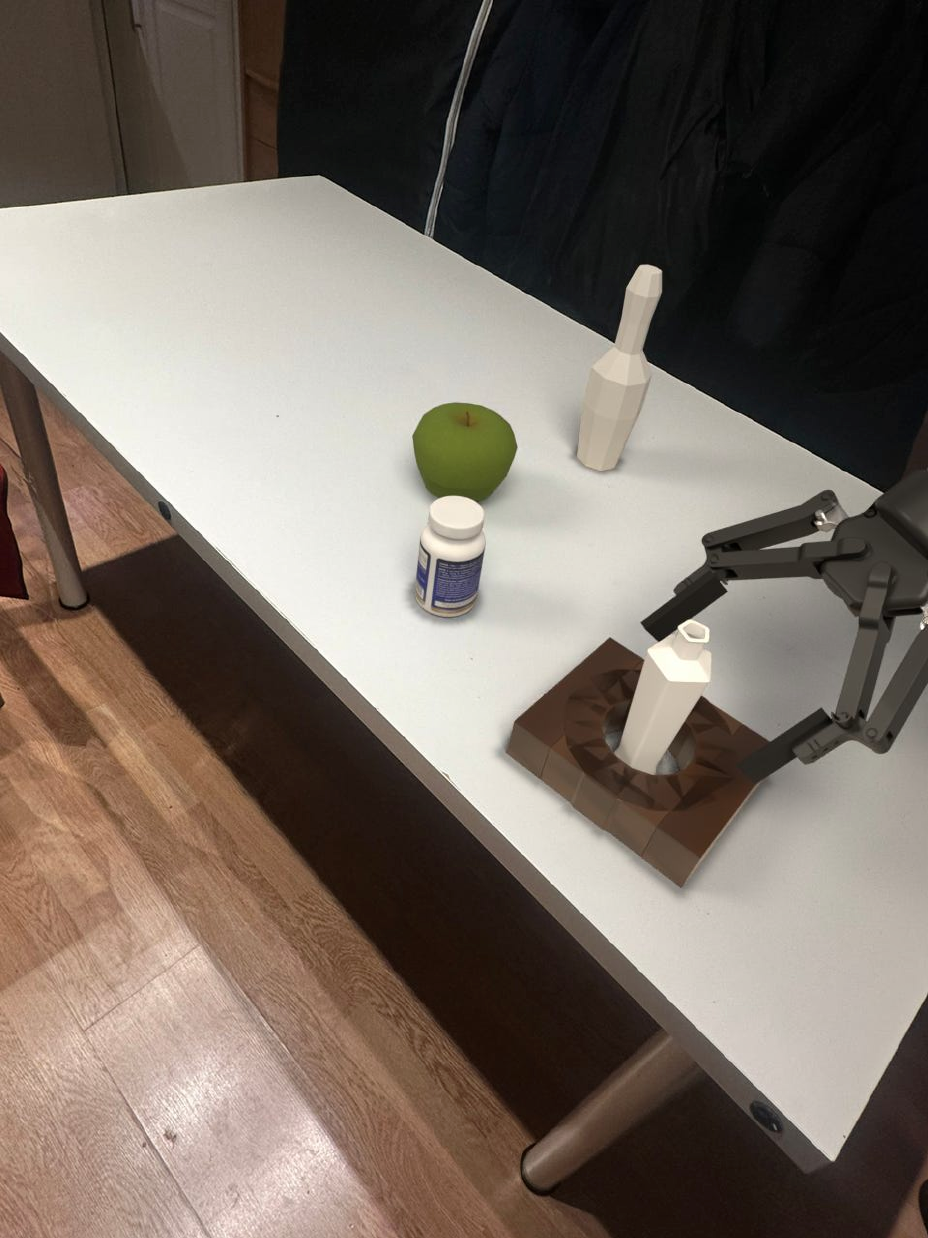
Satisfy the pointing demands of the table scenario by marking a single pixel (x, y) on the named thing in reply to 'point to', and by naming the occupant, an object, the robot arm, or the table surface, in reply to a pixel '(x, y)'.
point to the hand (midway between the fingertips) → (693, 698)
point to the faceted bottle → (619, 377)
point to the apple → (463, 450)
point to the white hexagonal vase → (665, 695)
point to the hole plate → (626, 797)
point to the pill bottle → (450, 556)
